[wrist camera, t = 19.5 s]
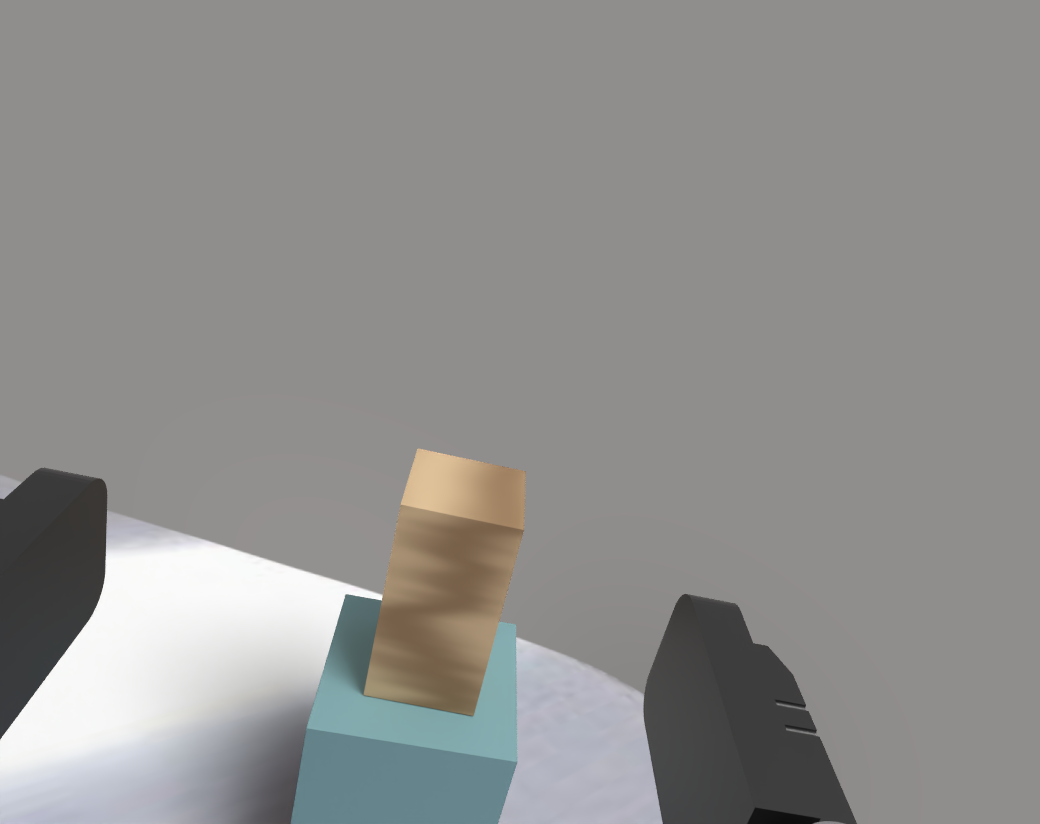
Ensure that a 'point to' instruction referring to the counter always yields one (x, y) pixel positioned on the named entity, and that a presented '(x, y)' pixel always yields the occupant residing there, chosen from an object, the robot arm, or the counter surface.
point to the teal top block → (404, 741)
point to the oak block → (446, 582)
